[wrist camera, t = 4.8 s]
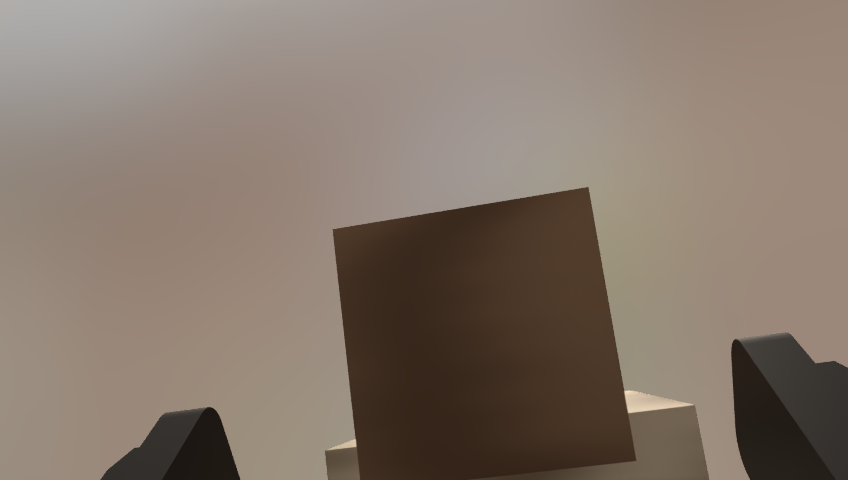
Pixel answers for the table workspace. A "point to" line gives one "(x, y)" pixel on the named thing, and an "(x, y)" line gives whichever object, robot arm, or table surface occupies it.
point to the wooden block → (647, 476)
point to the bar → (481, 342)
